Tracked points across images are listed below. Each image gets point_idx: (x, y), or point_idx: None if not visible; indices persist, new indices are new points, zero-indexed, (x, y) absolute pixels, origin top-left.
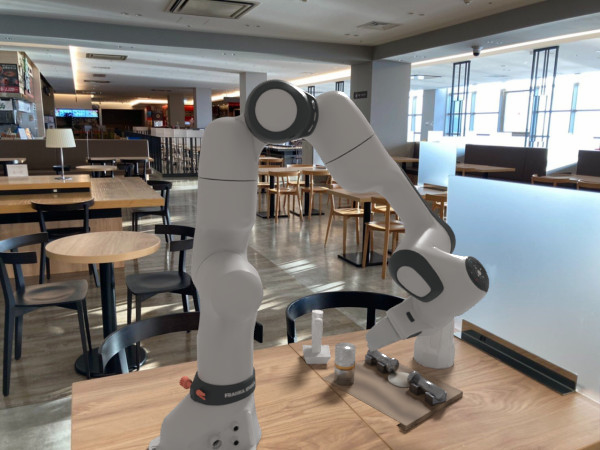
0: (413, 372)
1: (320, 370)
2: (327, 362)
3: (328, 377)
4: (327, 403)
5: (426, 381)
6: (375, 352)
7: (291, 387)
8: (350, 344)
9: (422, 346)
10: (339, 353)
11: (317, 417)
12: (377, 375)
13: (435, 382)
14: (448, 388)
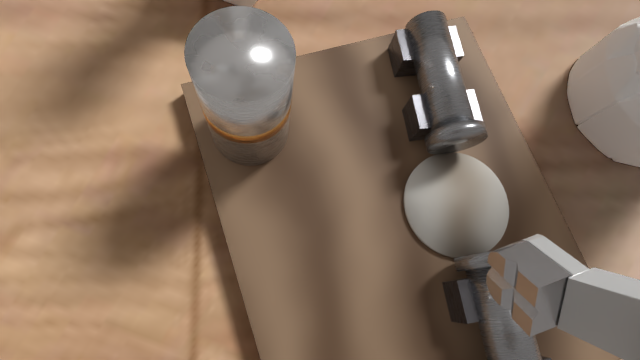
0: None
1: None
2: (253, 4)
3: None
4: (130, 221)
5: (517, 335)
6: (431, 45)
7: (67, 81)
8: (281, 39)
9: (631, 81)
10: (193, 82)
11: (42, 292)
12: (385, 141)
13: None
14: None
